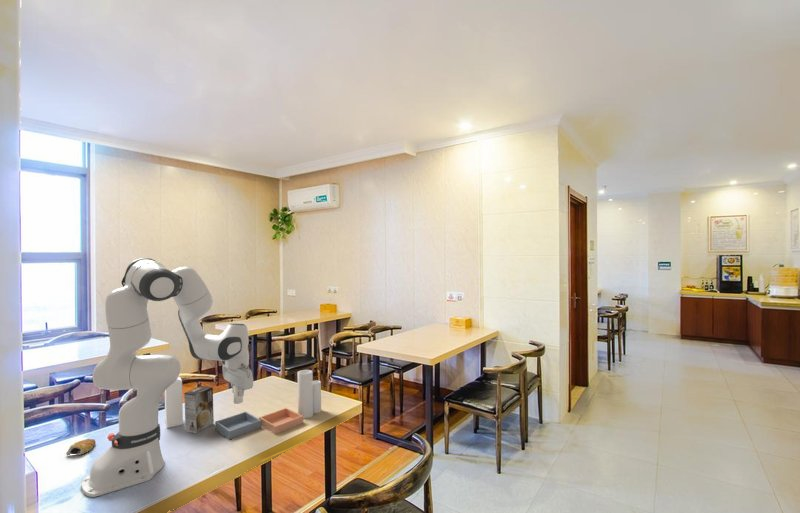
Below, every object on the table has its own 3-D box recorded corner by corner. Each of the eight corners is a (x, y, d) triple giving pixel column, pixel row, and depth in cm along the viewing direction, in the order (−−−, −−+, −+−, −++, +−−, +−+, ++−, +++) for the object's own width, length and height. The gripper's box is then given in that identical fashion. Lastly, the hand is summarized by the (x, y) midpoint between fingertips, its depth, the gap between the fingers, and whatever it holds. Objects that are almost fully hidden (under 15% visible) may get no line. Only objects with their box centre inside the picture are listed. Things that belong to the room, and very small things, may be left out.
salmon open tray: (275, 435, 155) (275, 426, 155) (259, 425, 164) (258, 417, 163) (303, 424, 165) (303, 416, 164) (286, 415, 173) (286, 407, 173)
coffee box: (202, 421, 168) (202, 385, 167) (214, 423, 166) (213, 386, 165) (184, 431, 159) (183, 392, 159) (196, 433, 157) (195, 394, 157)
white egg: (236, 404, 158) (235, 387, 158) (232, 402, 160) (231, 385, 160) (244, 401, 160) (244, 385, 160) (240, 399, 163) (240, 383, 163)
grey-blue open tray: (229, 440, 151) (229, 431, 151) (215, 429, 160) (215, 421, 160) (261, 428, 161) (260, 420, 161) (246, 419, 170) (245, 411, 170)
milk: (166, 428, 162) (165, 376, 161) (165, 423, 166) (163, 372, 166) (183, 424, 165) (181, 373, 165) (181, 419, 170) (179, 369, 170)
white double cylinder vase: (306, 420, 168) (305, 375, 167) (294, 417, 171) (293, 372, 171) (323, 411, 178) (322, 368, 177) (311, 408, 181) (311, 366, 181)
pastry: (81, 444, 149) (81, 434, 149) (101, 443, 150) (101, 433, 150) (64, 457, 140) (64, 447, 139) (85, 456, 141) (85, 445, 140)
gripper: (257, 365, 155) (257, 398, 156) (234, 355, 169) (234, 386, 169) (241, 368, 150) (242, 403, 151) (219, 358, 164) (220, 390, 165)
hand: (238, 394), depth 160 cm, fingers closed on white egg, 4 cm apart
